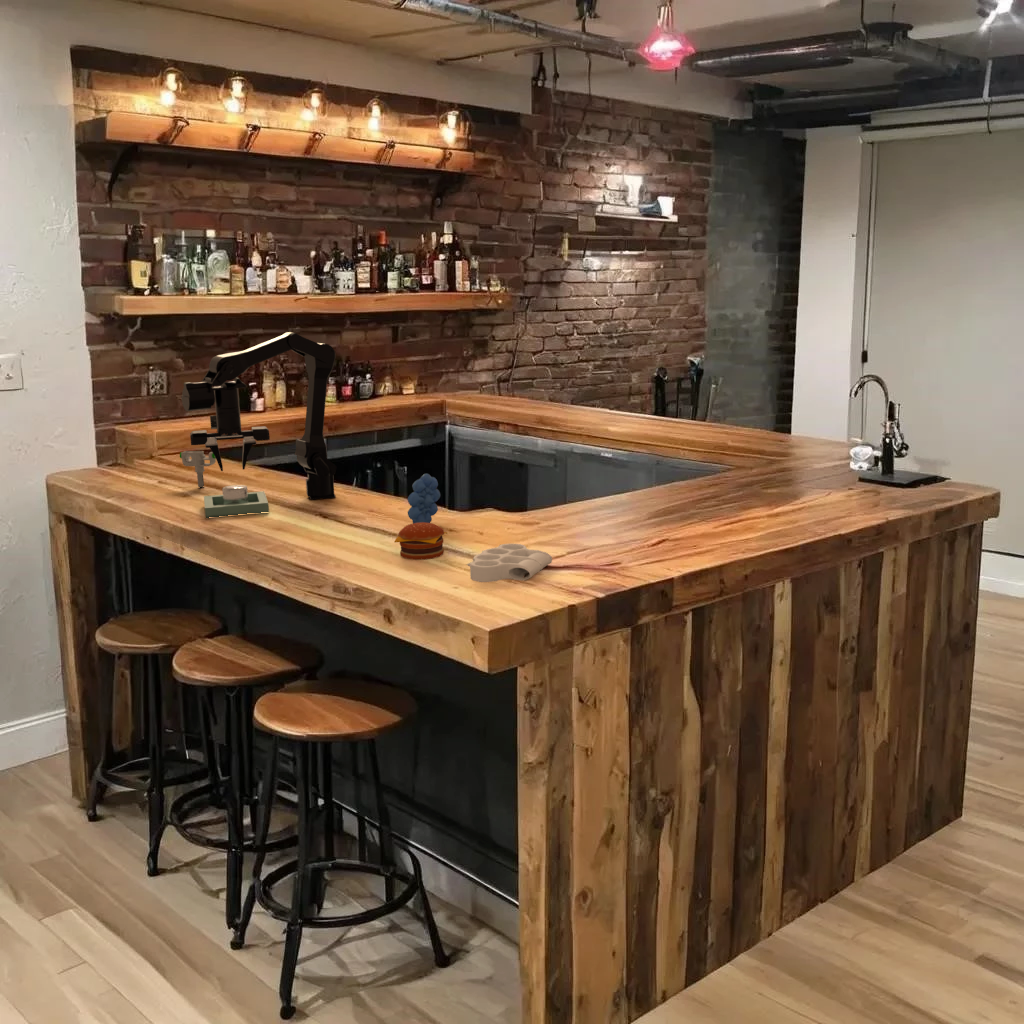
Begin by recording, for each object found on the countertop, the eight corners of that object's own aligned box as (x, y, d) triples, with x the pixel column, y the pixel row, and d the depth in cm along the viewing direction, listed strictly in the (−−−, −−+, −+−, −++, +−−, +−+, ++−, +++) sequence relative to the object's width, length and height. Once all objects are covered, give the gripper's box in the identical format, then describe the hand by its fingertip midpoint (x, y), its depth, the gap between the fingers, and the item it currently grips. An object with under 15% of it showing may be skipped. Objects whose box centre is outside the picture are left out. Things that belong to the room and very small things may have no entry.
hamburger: (394, 560, 230) (392, 528, 229) (407, 548, 239) (406, 517, 238) (438, 561, 228) (436, 529, 227) (450, 549, 237) (449, 518, 236)
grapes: (423, 519, 265) (421, 468, 263) (447, 521, 262) (445, 470, 259) (395, 529, 255) (392, 477, 253) (419, 532, 252) (417, 480, 250)
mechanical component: (216, 489, 308) (212, 452, 306) (181, 488, 310) (178, 452, 308) (220, 486, 311) (217, 450, 308) (186, 486, 313) (183, 450, 310)
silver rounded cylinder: (248, 503, 285) (246, 484, 284) (249, 508, 279) (247, 488, 278) (223, 505, 283) (221, 486, 282) (224, 510, 278) (222, 490, 276)
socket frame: (264, 501, 290) (264, 491, 290) (269, 513, 276) (268, 502, 276) (204, 506, 286) (203, 496, 286) (205, 518, 272) (204, 508, 272)
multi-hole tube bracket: (524, 588, 210) (453, 581, 215) (558, 563, 226) (491, 557, 231) (523, 570, 209) (452, 564, 214) (557, 546, 225) (490, 541, 231)
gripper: (264, 401, 286) (268, 462, 289) (187, 405, 281) (193, 467, 284) (267, 406, 275) (272, 469, 279) (187, 411, 270) (193, 475, 274)
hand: (232, 470), depth 279 cm, fingers open, 5 cm apart
